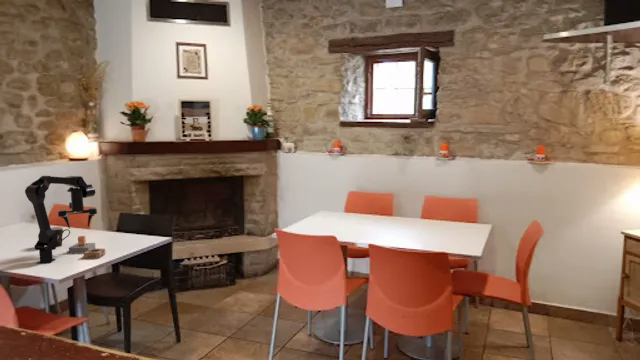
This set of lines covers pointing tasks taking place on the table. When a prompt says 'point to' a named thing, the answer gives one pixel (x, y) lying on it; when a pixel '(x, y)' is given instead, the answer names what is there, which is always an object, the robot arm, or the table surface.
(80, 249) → the port
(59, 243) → the coffee mug
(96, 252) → the tan flat square block
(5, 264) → the table surface
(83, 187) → the robot arm
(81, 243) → the peg
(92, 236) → the table surface
